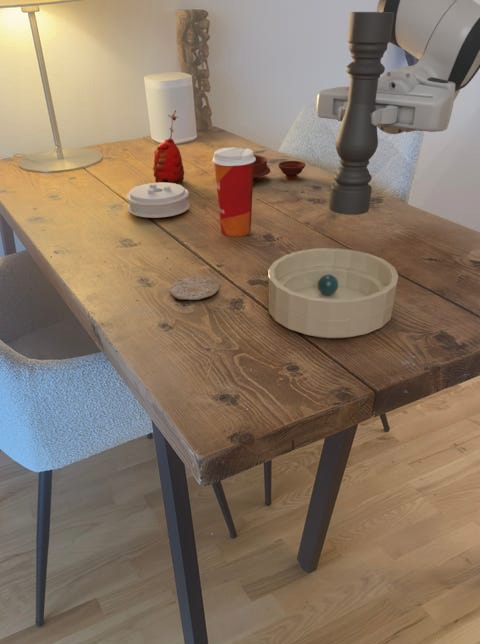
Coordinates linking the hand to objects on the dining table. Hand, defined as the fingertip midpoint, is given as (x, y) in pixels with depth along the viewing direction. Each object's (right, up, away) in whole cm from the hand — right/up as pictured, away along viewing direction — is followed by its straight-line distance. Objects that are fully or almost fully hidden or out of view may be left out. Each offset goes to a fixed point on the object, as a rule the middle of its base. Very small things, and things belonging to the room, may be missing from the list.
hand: (356, 116), depth 81 cm
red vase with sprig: (-33, +13, +53) cm, 64 cm away
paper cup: (-17, -7, +27) cm, 33 cm away
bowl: (-4, -28, +1) cm, 28 cm away
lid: (-33, 0, +37) cm, 49 cm away
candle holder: (+1, -10, +8) cm, 13 cm away
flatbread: (-24, -24, +7) cm, 34 cm away
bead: (-4, -23, +3) cm, 24 cm away
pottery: (-11, +14, +53) cm, 56 cm away
